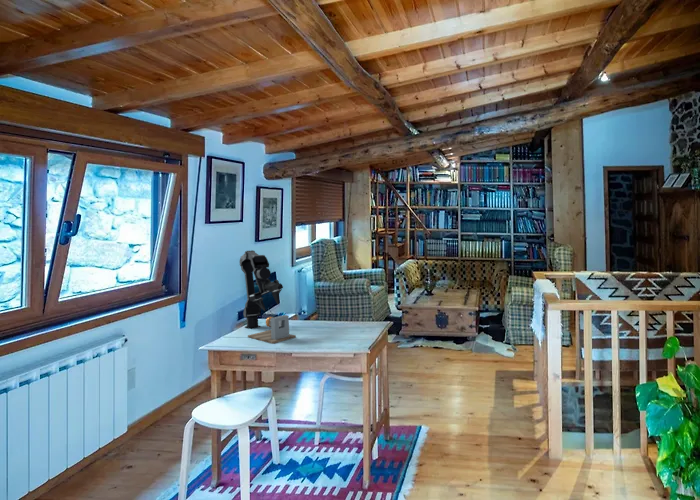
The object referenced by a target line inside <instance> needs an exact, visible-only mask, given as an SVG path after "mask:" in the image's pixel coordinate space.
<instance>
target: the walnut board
mask: <svg viewBox="0 0 700 500" xmlns="http://www.w3.org/2000/svg"><path fill="white" fill-rule="evenodd" d="M296 337H297V336H296V334H291V333H289V336H288V337H285V338H281V339H277V340H274V339H271V329H269V330H268V329H267V330H264V331H260V332H256V333H251V334H248V335H247V338H249V339H253V340H257V341H261V342H264V343H268V344H272V345H273V344H276V343H280V342H284V341H288V340H291V339H295V338H296Z"/></svg>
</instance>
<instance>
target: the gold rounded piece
mask: <svg viewBox="0 0 700 500" xmlns="http://www.w3.org/2000/svg"><path fill="white" fill-rule="evenodd" d="M273 317H274V316H267V317H266V319H265V325H266V326H267V327H268V328H271V327H270V321H271V318H273ZM281 326H282V321H279V327H281Z"/></svg>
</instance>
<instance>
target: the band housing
mask: <svg viewBox="0 0 700 500" xmlns="http://www.w3.org/2000/svg"><path fill="white" fill-rule="evenodd" d="M272 317H273V318H271V321H270V327H269V328H270V330H271V339H274V340H277V339H281V338H285V337H288V336H289V334H290V322H289V321H290V320H289V319H290V317H289V315H286V314H284V315H278V316H272ZM279 321H282V326H281V327H279Z"/></svg>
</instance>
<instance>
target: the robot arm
mask: <svg viewBox="0 0 700 500" xmlns="http://www.w3.org/2000/svg"><path fill="white" fill-rule="evenodd" d="M269 262H270V261H268V258H267V257H266V255H265V254H258V253H257V252H256V251H255V250H252V249H251V250H246V251H245V252H244V253H243V254H242V255H241V256H240V259H239V266H240V270H241V271H242V272H243V274H244V280H245V288H246V289H245V290H246V302H245V304H244V308H243V313H242V314H243V318H245V319H246V325H245V326H244V328H246V329H251V330H252V329H253V330H254V329H256V328H261V325H259V317H261V316H262V315H261V314H262V310H263V312H265V311H266V307H265V304H264V297H262V296H264V295H266V294H270V293H271V295H272V297H273V299H274V301H275V303H276V305H280V293H281V291H282V289H284V286H283V284H282V283H280V281H279V279H274V280H273V281H271V280H270V277H271V270H270V269H269V268H270V263H269ZM254 277H255V279H254ZM255 285H256V286H258V289H259V290H258V291H257V292H256V291H255V289H256V288H255Z"/></svg>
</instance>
